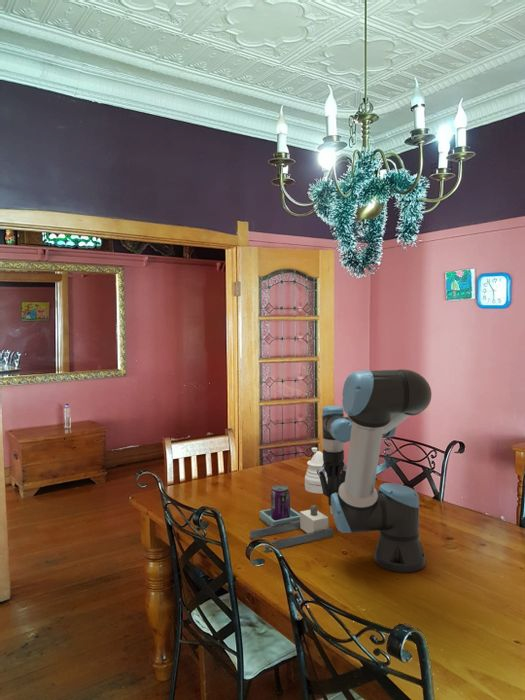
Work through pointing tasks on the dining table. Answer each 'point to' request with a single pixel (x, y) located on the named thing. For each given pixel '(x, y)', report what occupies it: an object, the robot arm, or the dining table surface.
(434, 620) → the dining table surface
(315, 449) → the honey pot
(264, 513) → the tray
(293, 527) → the slide track
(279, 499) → the beverage can
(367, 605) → the dining table surface
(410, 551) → the robot arm
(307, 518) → the slider
